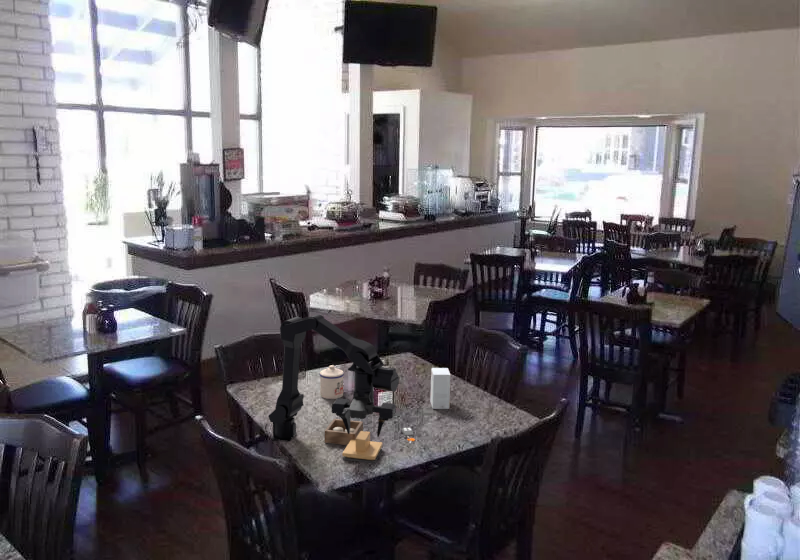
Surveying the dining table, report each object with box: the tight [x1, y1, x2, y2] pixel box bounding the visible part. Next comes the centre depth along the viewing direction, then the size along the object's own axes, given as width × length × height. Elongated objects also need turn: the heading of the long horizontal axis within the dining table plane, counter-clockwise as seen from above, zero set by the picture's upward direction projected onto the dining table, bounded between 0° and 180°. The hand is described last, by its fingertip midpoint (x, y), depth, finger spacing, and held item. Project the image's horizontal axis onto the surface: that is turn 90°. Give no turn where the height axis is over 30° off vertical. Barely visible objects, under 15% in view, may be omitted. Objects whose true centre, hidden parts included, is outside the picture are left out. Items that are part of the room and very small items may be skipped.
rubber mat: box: [342, 448, 383, 464], centre depth 205 cm, size 10×9×1 cm
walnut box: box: [324, 418, 364, 446], centre depth 217 cm, size 10×10×4 cm
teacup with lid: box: [319, 364, 345, 400], centre depth 255 cm, size 12×9×12 cm
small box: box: [430, 367, 452, 410], centre depth 246 cm, size 8×6×13 cm
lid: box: [341, 430, 383, 460], centre depth 205 cm, size 10×10×6 cm
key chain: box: [401, 427, 416, 444], centre depth 218 cm, size 13×4×2 cm, turn 11°
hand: (363, 435), depth 204 cm, fingers open, 9 cm apart
